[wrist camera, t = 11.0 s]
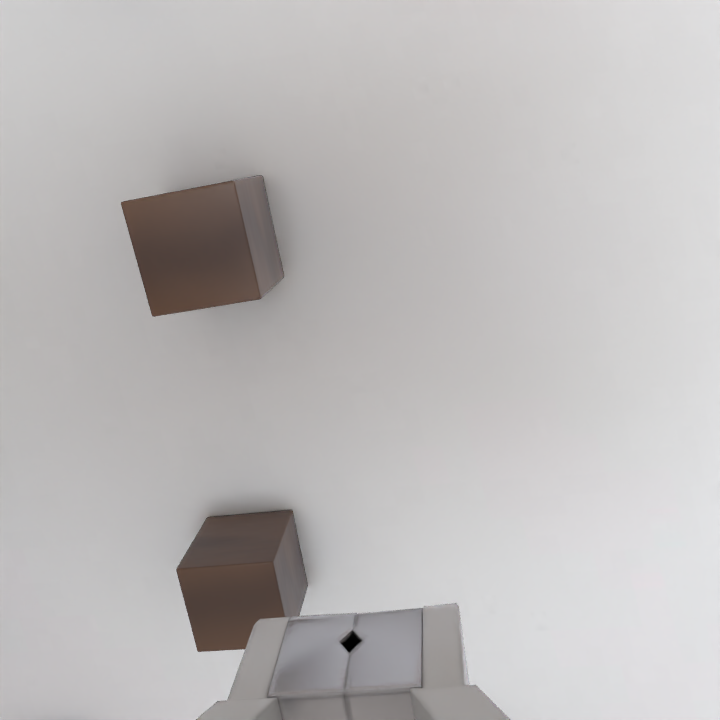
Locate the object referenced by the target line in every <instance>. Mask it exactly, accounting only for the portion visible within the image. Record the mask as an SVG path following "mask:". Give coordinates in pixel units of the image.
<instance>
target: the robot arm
mask: <svg viewBox="0 0 720 720" xmlns="http://www.w3.org/2000/svg"><path fill="white" fill-rule="evenodd" d="M196 720H510V719H509V718H508V717H507V716H506V715H505V714H504V713H503V712H502V711H501V710H500V709H499V708H498V707H497V706H496V705H495V704H494V703H493V702H492V701H491V700H490V699H489V698H488V697H487V696H486V695H485V694H484V693H483V692H482V691H481V690H480V689H479V688H478V687H477V686H476V685H469V677H468V670H467V662H466V655H465V647H464V640H463V632H462V625H461V617H460V611H459V606H458V605H457V603H452V604H443V605H434V606H425V607H424V608H417V609H405V610H393V611H381V612H369V613H358V614H357V613H346V614H329V615H311V616H293V617H292V618H291V617H280V618H267V619H260V620H258V621H257V622H256V623H255V625H254V626H253V629H252V632H251V635H250V638H249V640H248V643H247V646H246V649H245V652H244V655H243V657H242V660H241V663H240V666H239V669H238V671H237V674H236V677H235V680H234V683H233V685H232V688H231V691H230V694H229V697H228V699H227V701H217V702H216V703H215V704H214V705H212V706H211V707H210V708H209V709H208V710H207V711H205V712H204V713H203V714H202V715H201V716H200V717H198V718H197V719H196Z"/></svg>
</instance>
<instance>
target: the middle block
mask: <svg viewBox="0 0 720 720" xmlns="http://www.w3.org/2000/svg"><path fill="white" fill-rule="evenodd" d="M121 205H122V209H123V213H124V216H125V220H126V223H127V227H128V231H129V234H130V238H131V241H132V245H133V249H134V252H135V256H136V259H137V263H138V267H139V270H140V274H141V277H142V281H143V285H144V288H145V292H146V295H147V299H148V303H149V306H150V310H151V313H152V316H154V317H155V316H161V315H167V314H173V313H179V312H185V311H191V310H197V309H203V308H209V307H216V306H222V305H228V304H234V303H240V302H246V301H252V300H258V299H261V298H262V297H263V296H264V295H265V294H266V293H267V292H269V291H270V290H271V289H272V288H273V287H274V286H275V285H276V284H277V283H278V282H279V281H280V280H282V279H283V278H284V273H283V269H282V264H281V259H280V255H279V250H278V246H277V241H276V236H275V232H274V227H273V223H272V218H271V213H270V209H269V204H268V200H267V195H266V190H265V186H264V181H263V177H262V175H259V176H254V177H249V178H243V179H238V180H233V181H228V182H222V183H217V184H212V185H207V186H201V187H196V188H191V189H186V190H181V191H175V192H170V193H165V194H160V195H155V196H149V197H144V198H139V199H134V200H128V201H123V202H121Z"/></svg>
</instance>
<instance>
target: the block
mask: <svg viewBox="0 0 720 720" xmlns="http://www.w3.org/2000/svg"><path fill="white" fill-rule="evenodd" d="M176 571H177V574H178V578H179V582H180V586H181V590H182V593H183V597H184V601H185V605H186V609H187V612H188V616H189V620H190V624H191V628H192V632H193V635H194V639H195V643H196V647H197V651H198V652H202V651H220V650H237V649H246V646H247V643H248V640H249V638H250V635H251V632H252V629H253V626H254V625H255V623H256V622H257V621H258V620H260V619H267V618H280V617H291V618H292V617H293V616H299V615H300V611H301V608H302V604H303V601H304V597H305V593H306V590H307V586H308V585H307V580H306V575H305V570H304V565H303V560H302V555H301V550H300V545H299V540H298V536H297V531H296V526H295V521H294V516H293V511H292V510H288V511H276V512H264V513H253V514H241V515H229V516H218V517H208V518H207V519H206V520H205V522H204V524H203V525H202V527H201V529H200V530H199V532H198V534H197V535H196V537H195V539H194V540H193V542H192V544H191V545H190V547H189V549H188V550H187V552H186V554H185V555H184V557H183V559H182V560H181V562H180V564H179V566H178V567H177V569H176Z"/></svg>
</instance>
